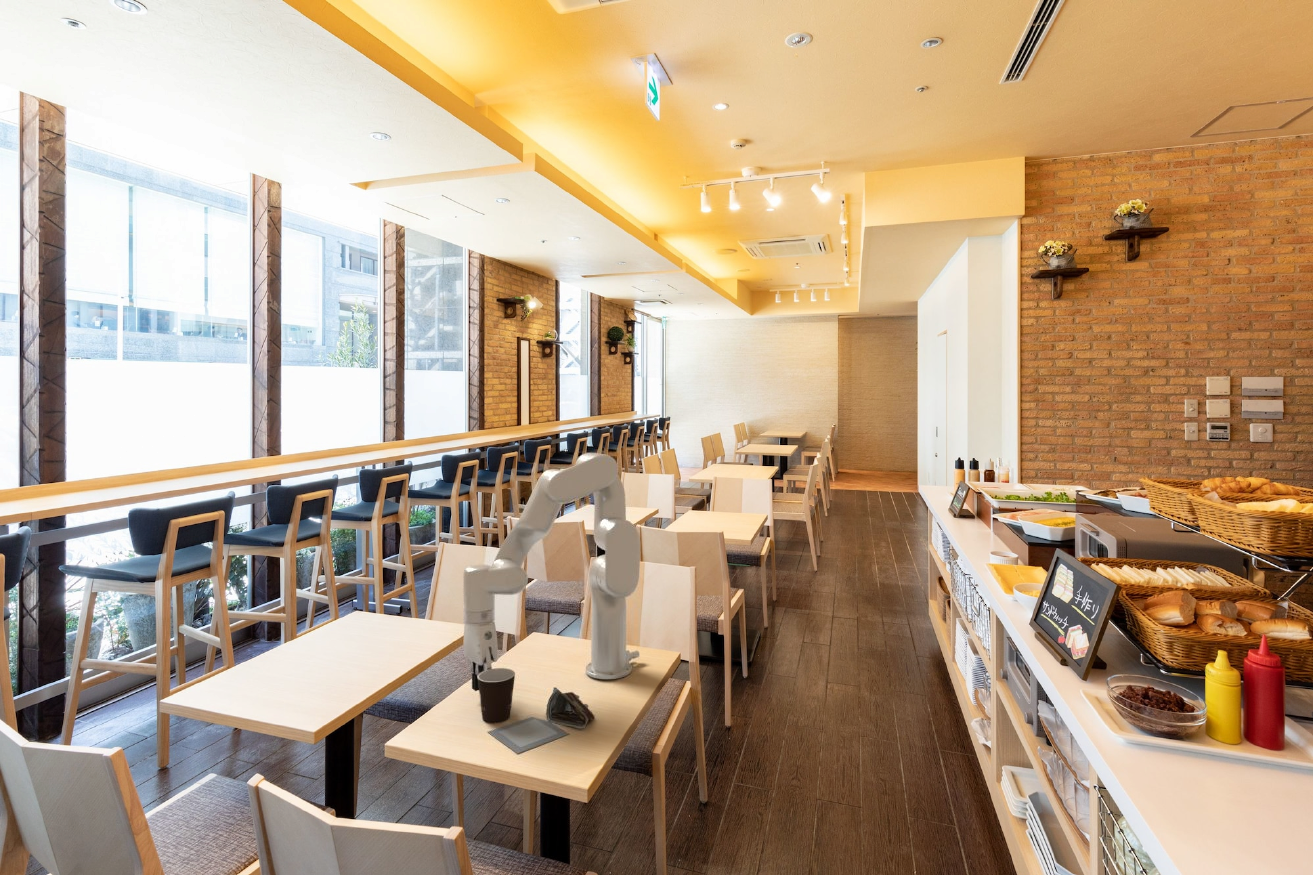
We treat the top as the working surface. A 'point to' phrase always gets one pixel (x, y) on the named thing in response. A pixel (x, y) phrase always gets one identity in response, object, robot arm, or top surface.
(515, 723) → the mat
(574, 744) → the top surface
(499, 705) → the coffee mug
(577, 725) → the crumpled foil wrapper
